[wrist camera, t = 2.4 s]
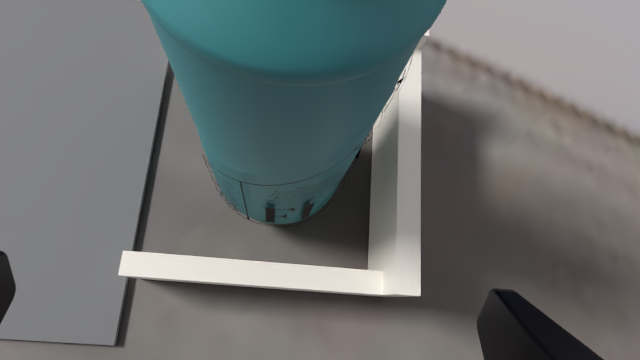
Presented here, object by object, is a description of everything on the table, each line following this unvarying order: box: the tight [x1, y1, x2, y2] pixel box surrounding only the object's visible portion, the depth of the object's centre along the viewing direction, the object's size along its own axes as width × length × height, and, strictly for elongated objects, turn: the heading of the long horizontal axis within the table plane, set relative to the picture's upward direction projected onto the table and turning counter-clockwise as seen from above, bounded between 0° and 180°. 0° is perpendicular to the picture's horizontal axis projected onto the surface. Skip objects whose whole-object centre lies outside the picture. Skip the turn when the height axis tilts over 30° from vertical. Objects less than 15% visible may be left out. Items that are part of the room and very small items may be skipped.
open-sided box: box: [118, 30, 429, 297], centre depth 20 cm, size 12×12×6 cm
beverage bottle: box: [141, 0, 447, 227], centre depth 13 cm, size 6×7×20 cm
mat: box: [0, 0, 169, 345], centre depth 21 cm, size 18×11×1 cm, turn 176°
